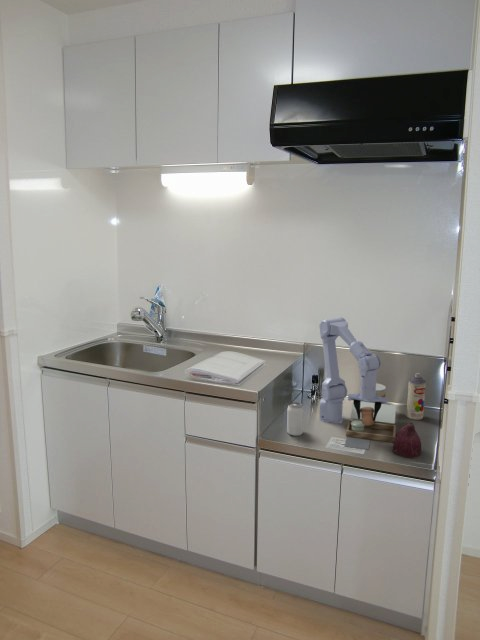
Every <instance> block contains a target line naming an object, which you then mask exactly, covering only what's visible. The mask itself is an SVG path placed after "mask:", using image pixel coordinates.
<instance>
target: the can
mask: <svg viewBox="0 0 480 640" xmlns="http://www.w3.org/2000/svg"><path fill="white" fill-rule="evenodd" d="M286 412H287V413H286V414H287V416H286V417H287V418H286V419H287V420H286V422H287V424H286V425H287V426H286V431H287V434H289V435H290V436H293V437H298V436H302V435H303V433H304V415H305V414H304V412H305V411H304V407H303V404H302V403H300V402H295V401H294V402H290V403H289V404H288V406H287V410H286Z"/></svg>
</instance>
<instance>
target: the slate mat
mask: <svg viewBox="0 0 480 640" xmlns="http://www.w3.org/2000/svg"><path fill="white" fill-rule="evenodd" d="M370 443H371V439H365V438H357V437H350V436H346V439H345V442H344V447H345V448H353V449H360V450H367V451H368V450H370Z"/></svg>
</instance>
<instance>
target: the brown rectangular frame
mask: <svg viewBox="0 0 480 640" xmlns="http://www.w3.org/2000/svg"><path fill="white" fill-rule="evenodd" d="M352 421H357V420H356V419H349V420H348V422H347V426H346V429H345V436H346V437H351V438H359V439H366V440H374V441H380V442H381V441H382V442H388V443H389V442H390V443H394V440H395V437H396V434H397V432H396V429H397V425H395V424H390V423H381V422H374V424H372V425H365V426H364V432H357V431H352V425H351V422H352Z"/></svg>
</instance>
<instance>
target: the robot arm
mask: <svg viewBox="0 0 480 640" xmlns="http://www.w3.org/2000/svg"><path fill="white" fill-rule="evenodd" d="M319 334H320V339H321V343H322V348H323V357H324V365H325V373H326V378H325V379H324V381H323V382H322V383H321V392H320V393H321V397H322V398H320V402H319V422H326V423H334V424H342V423H343V421H344V417H345V416H344V415H343V408H344V407H343V404H344V403H343V401H345V398H347V401H348V402H350V401H354V402H352V405H353V404H354V407H355V409H356V411H357V415H358V419H360V403H361V402H375V405H374V418H373V421H375V419H376V416H377V413H378V411H379V409H380V408H381V404H382V403H384V404H388V397H386V396H385V397H380V396H376V383H377V373H378V369H380V367H381V363H382V362H381V359H380V357H379V356H378V354H376V353H373V352H371V351H370V350H369V349H368V347H367V346H365V345H364V343H363V342H362V341H360V340H358V341H357V339H356V338H355V336H354V335H353V333H352V332H351V331H350V329H349V322H347V321H346V318H345V317H337V318H330V319H329V318H327V319H323V320H321V322H320V323H319ZM339 337H340V338H341V339H342V340H343V342H345V343H346V344H347V345H348V346H349V352H350V353H351V354H352V356H353V357H354V359H355V360H356V361H357V365H358V369H359V375H360V389H359V390H360V391H359V393H353V394H351V393H350V394H349V393H348V388H347V385H346V382H345V380H344V379H343V378H341V377H340V370H339V362H338V355H337V347H336V340H337V338H339Z"/></svg>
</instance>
